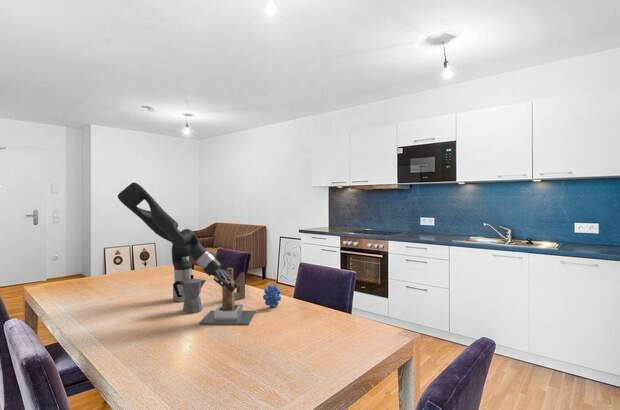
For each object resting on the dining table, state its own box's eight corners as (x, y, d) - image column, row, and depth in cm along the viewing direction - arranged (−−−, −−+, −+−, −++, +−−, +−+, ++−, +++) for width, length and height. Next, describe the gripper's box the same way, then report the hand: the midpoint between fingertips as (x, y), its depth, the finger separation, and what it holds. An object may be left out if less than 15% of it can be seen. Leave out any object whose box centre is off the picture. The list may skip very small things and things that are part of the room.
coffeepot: (205, 306, 177) (205, 271, 176) (206, 312, 168) (206, 275, 167) (173, 309, 171) (173, 274, 171) (173, 316, 163) (172, 278, 162)
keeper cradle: (199, 324, 151) (199, 313, 151) (210, 312, 167) (210, 302, 167) (248, 324, 151) (248, 313, 151) (255, 312, 167) (255, 302, 167)
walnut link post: (222, 314, 157) (222, 282, 156) (225, 311, 161) (224, 280, 161) (232, 314, 157) (231, 282, 156) (234, 311, 161) (234, 280, 161)
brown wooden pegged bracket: (245, 298, 191) (245, 266, 190) (229, 302, 183) (228, 269, 183) (241, 296, 193) (241, 265, 193) (225, 301, 185) (224, 268, 185)
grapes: (269, 312, 167) (269, 288, 167) (260, 309, 172) (260, 285, 171) (286, 306, 176) (286, 283, 175) (277, 303, 180) (277, 281, 180)
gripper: (208, 265, 166) (232, 290, 166) (197, 272, 152) (224, 299, 152) (218, 255, 166) (243, 279, 166) (209, 260, 151) (236, 287, 151)
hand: (234, 289), depth 159 cm, fingers closed on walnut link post, 4 cm apart
